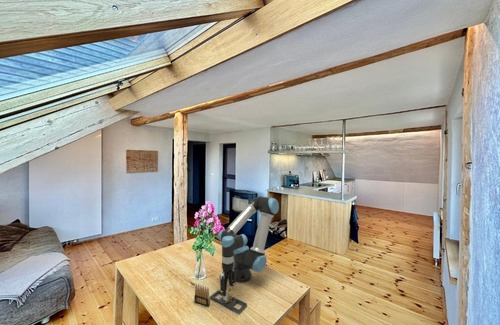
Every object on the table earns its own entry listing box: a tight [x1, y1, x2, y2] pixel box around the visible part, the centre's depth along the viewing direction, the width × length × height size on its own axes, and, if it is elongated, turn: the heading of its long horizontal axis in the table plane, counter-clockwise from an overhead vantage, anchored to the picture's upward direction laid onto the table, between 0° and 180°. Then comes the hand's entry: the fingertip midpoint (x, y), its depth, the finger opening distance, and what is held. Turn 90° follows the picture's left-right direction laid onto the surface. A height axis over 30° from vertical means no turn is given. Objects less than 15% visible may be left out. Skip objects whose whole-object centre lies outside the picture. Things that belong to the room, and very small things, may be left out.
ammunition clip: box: [193, 283, 211, 308], centre depth 128 cm, size 11×2×12 cm, turn 67°
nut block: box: [224, 286, 233, 304], centre depth 129 cm, size 4×4×7 cm
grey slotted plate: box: [209, 289, 248, 315], centre depth 129 cm, size 8×24×2 cm, turn 56°
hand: (227, 298), depth 129 cm, fingers closed on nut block, 4 cm apart
